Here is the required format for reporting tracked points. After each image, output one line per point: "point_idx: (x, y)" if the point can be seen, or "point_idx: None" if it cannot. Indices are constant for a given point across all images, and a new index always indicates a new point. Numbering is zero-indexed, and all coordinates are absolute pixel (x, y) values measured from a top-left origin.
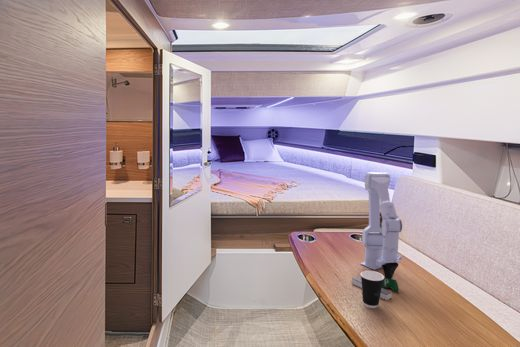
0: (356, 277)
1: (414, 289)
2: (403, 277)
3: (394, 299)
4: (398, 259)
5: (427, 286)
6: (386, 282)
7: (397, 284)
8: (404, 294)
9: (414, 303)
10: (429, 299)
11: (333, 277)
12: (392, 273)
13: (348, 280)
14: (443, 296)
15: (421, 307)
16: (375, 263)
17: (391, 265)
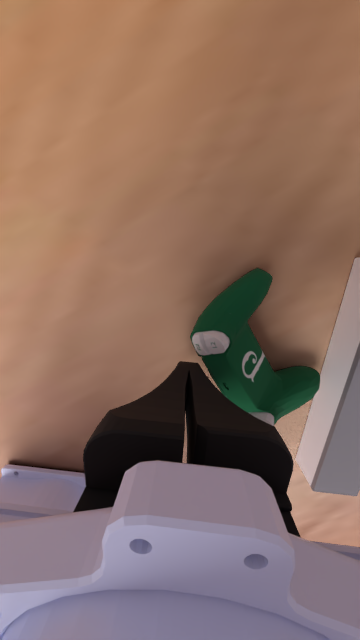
0: (329, 487)
1: (123, 235)
2: (42, 354)
3: (354, 236)
4: (26, 543)
5: (13, 207)
6: (254, 358)
7: (224, 298)
8: (238, 236)
9: (315, 118)
10: (173, 84)
11: (331, 531)
12: (185, 382)
13: (309, 485)
14: (43, 43)
15: (341, 44)
16: (66, 509)
17: (238, 465)
